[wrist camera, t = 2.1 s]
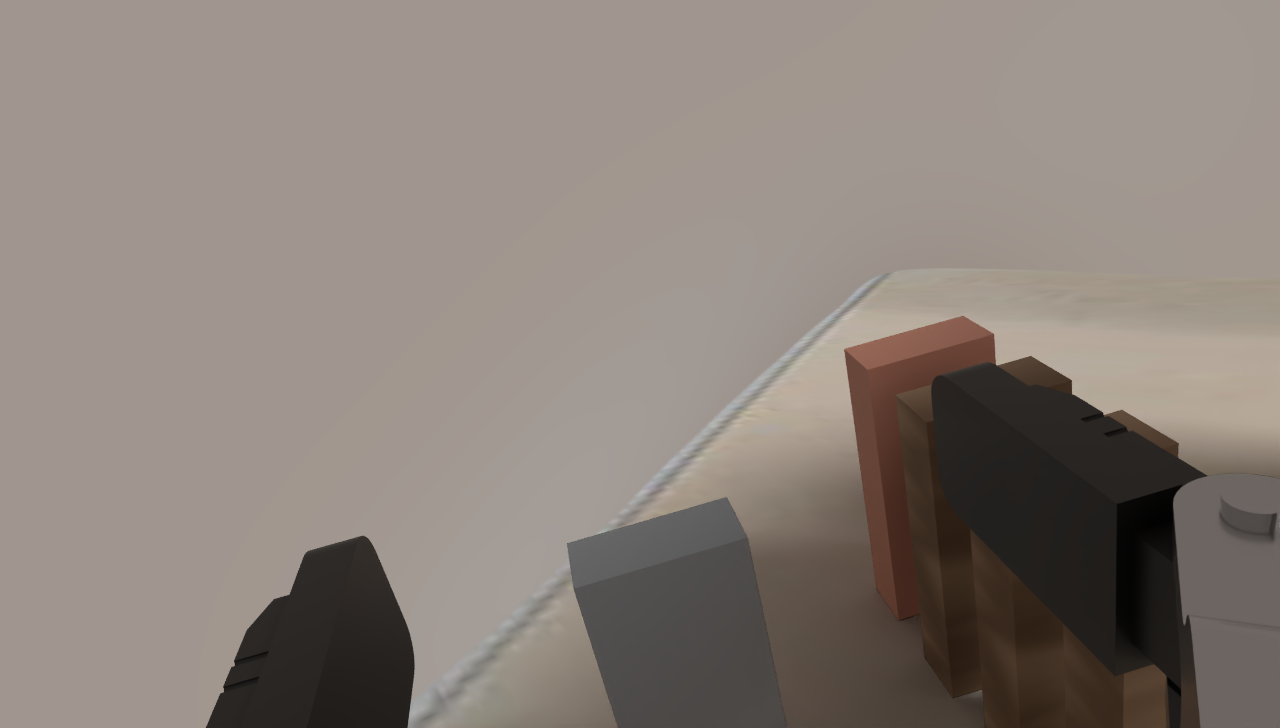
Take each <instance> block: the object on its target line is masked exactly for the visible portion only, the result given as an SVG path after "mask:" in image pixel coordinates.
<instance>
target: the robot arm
mask: <svg viewBox="0 0 1280 728" xmlns="http://www.w3.org/2000/svg"><path fill="white" fill-rule="evenodd" d="M931 398H932V409H933V420H934V432H935V443H936V454H937V465H938V474H939V479H940V483H941V486H942V489H943V492H944V494H945V497H946V499H947V501H948V503H949V505H950V506H951V508H952V509H953V511H954V512H955V513H956V515H957V516H958V517H959V518H960V519H961V520H962V521H963V522H964V523H965V524H966V525H967V526H968V527H969V528H970V529H971V530H972V531H973V532H974V533H975V534H976V535H977V536H978V537H979V538H980V539H981V540H982V541H983V542H984V543H985V544H986V545H987V546H988V547H989V548H990V549H991V550H992V551H993V552H994V553H995V554H996V556H997V557H998V558H999V559H1000V560H1001V561H1002V562H1003V563H1004V564H1005V565H1006V566H1007V567H1008V568H1009V569H1010V570H1011V571H1012V572H1013V573H1014V574H1015V575H1016V576H1017V577H1018V578H1019V579H1020V580H1021V581H1022V582H1023V583H1024V584H1025V585H1026V586H1027V587H1028V588H1029V589H1030V590H1031V591H1032V592H1033V593H1034V594H1035V595H1036V596H1037V597H1038V598H1039V599H1040V600H1041V601H1042V602H1043V603H1044V604H1045V606H1046V607H1047V608H1048V609H1049V610H1050V611H1051V612H1052V613H1053V614H1054V615H1055V616H1056V617H1057V618H1058V619H1059V620H1060V621H1061V622H1062V623H1063V624H1064V625H1065V626H1066V627H1067V628H1068V629H1069V630H1070V631H1071V632H1072V633H1073V634H1074V635H1075V636H1076V637H1077V638H1078V639H1079V640H1080V641H1081V642H1082V643H1083V644H1084V645H1085V646H1086V647H1087V648H1088V649H1089V650H1090V651H1091V652H1092V653H1093V654H1094V655H1095V657H1096V658H1097V659H1098V660H1099V661H1100V662H1101V663H1102V664H1103V665H1104V666H1105V667H1106V668H1107V669H1108V670H1109V671H1110V672H1111V673H1112V674H1113V675H1114V676H1118V675H1121V674H1124V673H1128V672H1131V671H1134V670H1137V669H1140V668H1144V667H1147V666H1150V665H1153V664H1154V665H1156V666H1157V667H1158V668H1159V669H1160V670H1161V671H1162V672H1163V673H1164V674H1165V675H1166V683H1165V711H1166V728H1280V479H1278V478H1274V477H1268V476H1263V475H1254V474H1235V473H1232V474H1218V475H1212V476H1207V475H1205V474H1204V473H1202V472H1200V471H1199V470H1197V469H1195V468H1194V467H1192V466H1190V465H1189V464H1187V463H1185V462H1184V461H1182V460H1180V459H1179V458H1177V457H1176V456H1174V455H1172V454H1171V453H1169V452H1167V451H1166V450H1164V449H1162V448H1161V447H1159V446H1157V445H1156V444H1154V443H1152V442H1151V441H1149V440H1148V439H1146V438H1144V437H1143V436H1141V435H1139V434H1138V433H1136V432H1134V431H1128V430H1127V427H1126V426H1124V425H1123V424H1121V423H1120V422H1118V421H1116V420H1115V419H1113V418H1111V417H1110V416H1106V417H1104V415H1103V412H1101V411H1100V410H1098V409H1096V408H1095V407H1093V406H1092V405H1090V404H1088V403H1087V402H1085V401H1083V400H1082V399H1080V398H1078V397H1077V396H1075V395H1072V394H1069V393H1065V392H1062V391H1058V390H1054V389H1051V388H1047V387H1044V386H1040V385H1037V384H1036V385H1032V386H1028V385H1026V384H1025V383H1023V382H1022V381H1020V380H1019V379H1017V378H1016V377H1014V376H1012V375H1011V374H1009V373H1008V372H1006V371H1005V370H1003V369H1002V368H1000V367H998V366H997V365H995V364H993V363H991V362H985V363H981V364H977V365H974V366H970V367H967V368H963V369H960V370H956V371H953V372H949V373H945V374H942V375H938V376H936V377H935V378H934V380H933V382H932V386H931ZM234 662H235V666H234V667H231V669H230V672H229V674H228V677H227V679H226V681H225V684H224V686H223V688H224V693H221V694H220V696H219V699H218V700H217V703H216V705H215V707H214V710H213V712H212V715H211V717H210V719H209V722H208V724H207V726H206V728H407V727H408V719H409V711H410V703H411V695H412V687H413V679H414V653H413V646H412V641H411V637H410V633H409V630H408V627H407V624H406V622H405V619H404V617H403V615H402V612H401V610H400V607H399V605H398V603H397V600H396V598H395V596H394V593H393V591H392V589H391V587H390V584H389V581H388V579H387V577H386V574H385V572H384V570H383V567H382V565H381V562H380V560H379V558H378V556H377V553H376V551H375V549H374V547H373V545H372V543H371V542H370V540H369V539H368V538H367V537H365V536H360V537H357V538H353V539H349V540H346V541H342V542H338V543H335V544H331V545H328V546H324V547H321V548H317V549H314V550H310V551H308V552H307V553H306V554H305V555H304V557H303V560H302V563H301V565H300V568H299V571H298V573H297V576H296V579H295V582H294V584H293V587H292V590H291V592H290V595H287V596H284V597H280V598H277V599H274V600H273V601H272V602H271V603H270V604H269V605H268V607H267V608H266V609H265V610H264V611H263V612H262V614H261V615H260V616H259V617H258V618H257V619H256V620H255V622H254V623H253V624H252V625H251V626H250V627H249V628H248V629H247V631H246V634H245V636H244V638H243V641H242V643H241V645H240V648H239V651H238V653H237V655H236V658H235V660H234Z"/></svg>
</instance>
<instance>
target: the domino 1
mask: <svg viewBox="0 0 1280 728" xmlns="http://www.w3.org/2000/svg"><path fill="white" fill-rule="evenodd" d="M844 351H845V358H846V366H847V373H848V380H849V388H850V395H851V403H852V410H853V417H854V425H855V432H856V440H857V447H858V454H859V462H860V469H861V476H862V484H863V491H864V499H865V506H866V513H867V521H868V528H869V536H870V543H871V550H872V558H873V565H874V573H875V580H876V587H877V590H878V591H879V593H880V594H881V596H882V597H883V598H884V600H885V601H886V603H887V604H888V606H889V607H890V609H891V610H892V611H893V613H894V614H895V616H896V617H897V619H898V620H902V619H905V618H908V617H911V616H915V615H918V614H920V611H919V602H918V593H917V584H916V575H915V566H914V557H913V548H912V539H911V530H910V521H909V512H908V503H907V494H906V486H905V477H904V468H903V459H902V450H901V441H900V432H899V423H898V414H897V405H896V396H895V395H896V394H900V393H903V392H907V391H910V390H914V389H917V388H921V387H924V386H928V385H931V384H932V382H933V380H934V378H935V377H936V376H938V375H942V374H945V373H949V372H953V371H956V370H960V369H963V368H967V367H970V366H974V365H977V364H981V363H985V362H991V363H993V364H995V365H996V361H995V342H994V334H993V333H991V332H990V331H988V330H986V329H985V328H983V327H981V326H979V325H978V324H976V323H974V322H973V321H971V320H969V319H968V318H966V317H964V316H961V317H957V318H954V319H950V320H947V321H943V322H939V323H936V324H932V325H929V326H925V327H922V328H918V329H914V330H911V331H907V332H904V333H900V334H897V335H893V336H889V337H886V338H882V339H879V340H875V341H871V342H868V343H864V344H861V345H857V346H854V347H850V348H846V349H844Z"/></svg>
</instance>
